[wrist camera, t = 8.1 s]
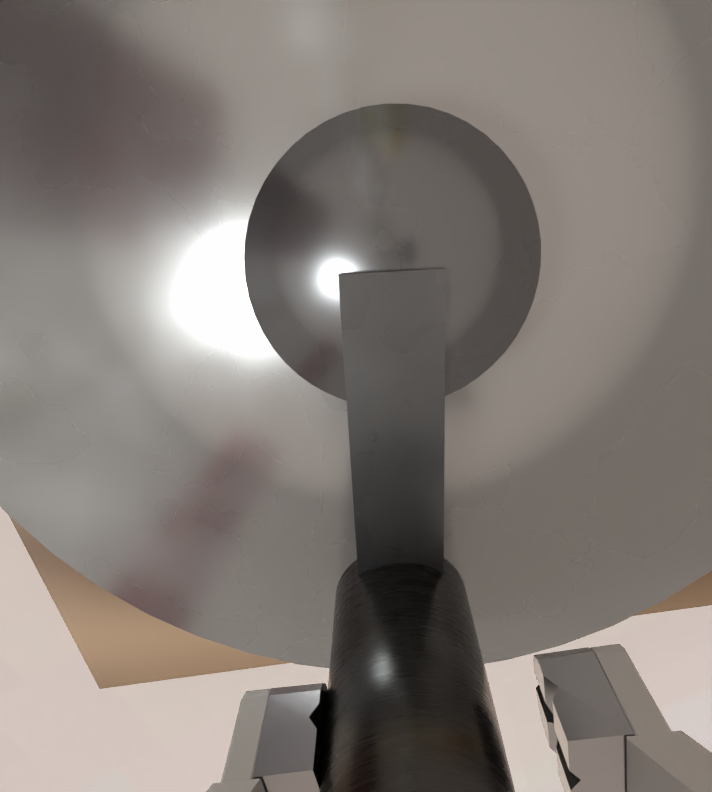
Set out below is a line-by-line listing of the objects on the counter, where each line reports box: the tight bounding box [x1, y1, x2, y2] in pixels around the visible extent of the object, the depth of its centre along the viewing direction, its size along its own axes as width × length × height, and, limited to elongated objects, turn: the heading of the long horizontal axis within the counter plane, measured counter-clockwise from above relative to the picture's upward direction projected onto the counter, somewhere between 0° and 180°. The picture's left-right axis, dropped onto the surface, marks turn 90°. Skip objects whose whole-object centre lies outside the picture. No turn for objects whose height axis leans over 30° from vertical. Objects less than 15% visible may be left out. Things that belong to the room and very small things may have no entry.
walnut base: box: [9, 516, 712, 689], centre depth 13 cm, size 22×22×3 cm
